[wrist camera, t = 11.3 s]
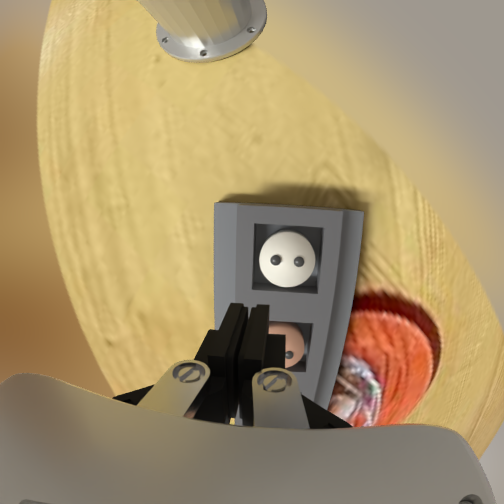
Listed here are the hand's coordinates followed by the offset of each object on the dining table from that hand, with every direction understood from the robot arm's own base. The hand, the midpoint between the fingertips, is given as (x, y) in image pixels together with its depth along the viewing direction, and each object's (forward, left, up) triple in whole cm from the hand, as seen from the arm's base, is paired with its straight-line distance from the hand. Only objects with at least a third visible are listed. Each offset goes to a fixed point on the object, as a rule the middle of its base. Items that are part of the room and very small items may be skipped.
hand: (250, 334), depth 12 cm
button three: (+9, +2, -14) cm, 17 cm away
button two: (0, +2, -14) cm, 15 cm away
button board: (+9, +2, -16) cm, 19 cm away
